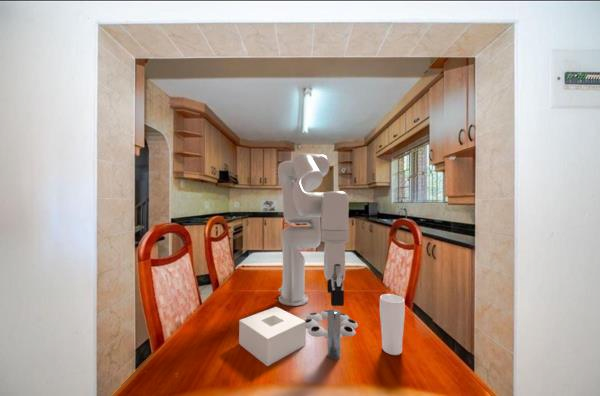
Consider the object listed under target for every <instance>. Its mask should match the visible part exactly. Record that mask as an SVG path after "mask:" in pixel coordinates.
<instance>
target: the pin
mask: <svg viewBox="0 0 600 396" xmlns="http://www.w3.org/2000/svg"><path fill="white" fill-rule="evenodd" d="M341 313H342V312H341V311H340V310H339V309H335V308H333V309H331V308H330V309H328V319H327V329H326V330H327V338H326V339H327V344H326V345H327V346H326V348H327V350H326V351H327V353H326V354H327V355H326V356H327V358H328V359H330V360H332V361H336V360H337V361H338V360H340V359H341V349H342V348H341V343H342V342H341V339H342V337H341V327H342V325H341Z"/></svg>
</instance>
